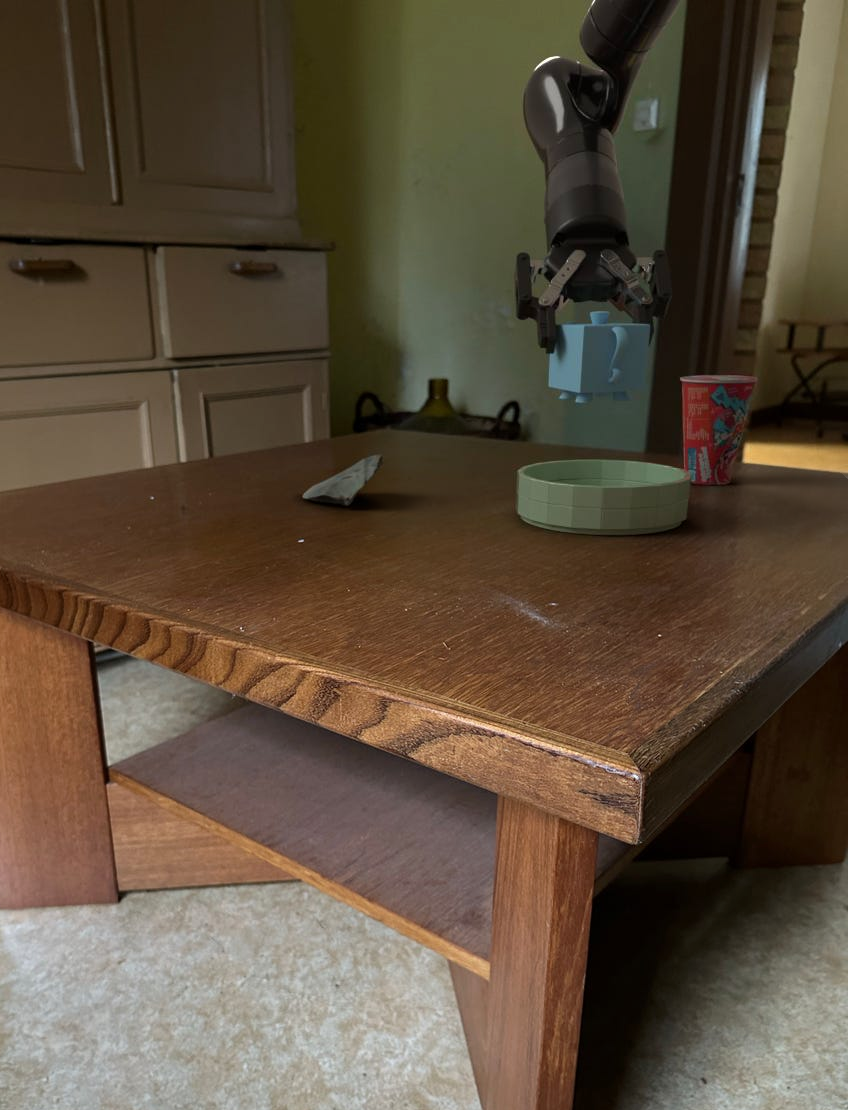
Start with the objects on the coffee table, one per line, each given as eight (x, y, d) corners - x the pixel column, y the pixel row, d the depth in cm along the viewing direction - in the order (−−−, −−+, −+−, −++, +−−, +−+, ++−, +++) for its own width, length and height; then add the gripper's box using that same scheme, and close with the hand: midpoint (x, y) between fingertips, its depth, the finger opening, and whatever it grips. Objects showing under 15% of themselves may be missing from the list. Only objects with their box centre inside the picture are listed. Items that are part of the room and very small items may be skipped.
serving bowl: (664, 501, 98) (668, 459, 96) (706, 536, 82) (712, 486, 81) (510, 501, 99) (511, 460, 97) (523, 536, 83) (525, 487, 82)
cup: (757, 487, 105) (770, 378, 101) (683, 488, 105) (694, 380, 101) (727, 473, 113) (738, 373, 109) (658, 474, 114) (668, 374, 110)
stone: (304, 523, 95) (395, 493, 94) (291, 486, 94) (383, 455, 94) (309, 512, 105) (391, 484, 105) (297, 479, 105) (380, 451, 104)
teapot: (534, 393, 89) (538, 311, 86) (592, 391, 90) (598, 310, 87) (586, 405, 78) (592, 312, 75) (652, 403, 79) (660, 310, 76)
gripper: (513, 183, 85) (519, 317, 78) (669, 179, 84) (690, 314, 77) (506, 249, 92) (511, 377, 85) (651, 245, 91) (668, 375, 84)
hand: (596, 346), depth 81 cm, fingers closed on teapot, 7 cm apart
